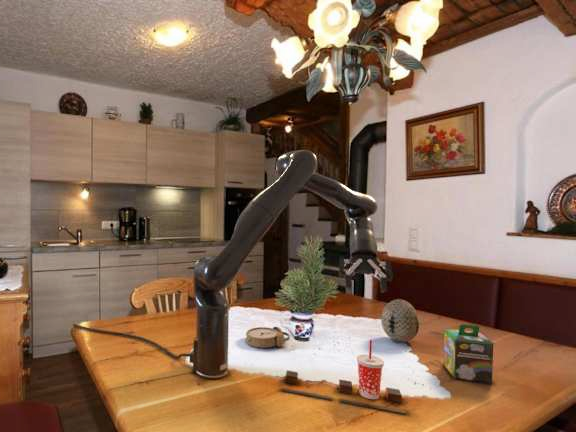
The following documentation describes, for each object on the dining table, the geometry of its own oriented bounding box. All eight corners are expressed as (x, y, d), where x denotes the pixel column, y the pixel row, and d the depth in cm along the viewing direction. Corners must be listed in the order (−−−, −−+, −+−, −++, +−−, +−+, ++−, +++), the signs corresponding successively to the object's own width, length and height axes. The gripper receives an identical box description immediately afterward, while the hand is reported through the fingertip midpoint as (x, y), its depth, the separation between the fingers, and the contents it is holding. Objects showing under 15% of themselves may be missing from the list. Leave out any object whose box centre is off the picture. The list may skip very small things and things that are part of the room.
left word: (281, 391, 91) (281, 383, 91) (284, 377, 98) (284, 370, 98) (331, 400, 87) (332, 392, 87) (330, 385, 94) (331, 377, 94)
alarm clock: (244, 327, 129) (285, 322, 128) (246, 341, 129) (287, 335, 128) (246, 339, 118) (291, 333, 117) (248, 353, 118) (293, 347, 117)
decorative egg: (424, 342, 125) (426, 301, 125) (408, 350, 119) (410, 305, 118) (390, 332, 135) (392, 293, 135) (374, 338, 128) (375, 298, 128)
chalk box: (478, 370, 105) (480, 320, 104) (493, 384, 96) (495, 330, 96) (442, 365, 108) (443, 317, 107) (453, 378, 99) (455, 326, 99)
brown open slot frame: (340, 402, 86) (340, 394, 86) (338, 386, 94) (339, 379, 94) (406, 414, 81) (406, 406, 81) (399, 397, 89) (399, 389, 89)
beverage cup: (381, 403, 86) (383, 346, 85) (354, 396, 89) (355, 341, 89) (383, 392, 91) (385, 339, 91) (357, 385, 94) (359, 334, 94)
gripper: (339, 237, 111) (339, 280, 101) (390, 239, 106) (396, 284, 96) (337, 251, 116) (338, 294, 106) (386, 254, 111) (392, 299, 101)
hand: (366, 289), depth 101 cm, fingers open, 8 cm apart
